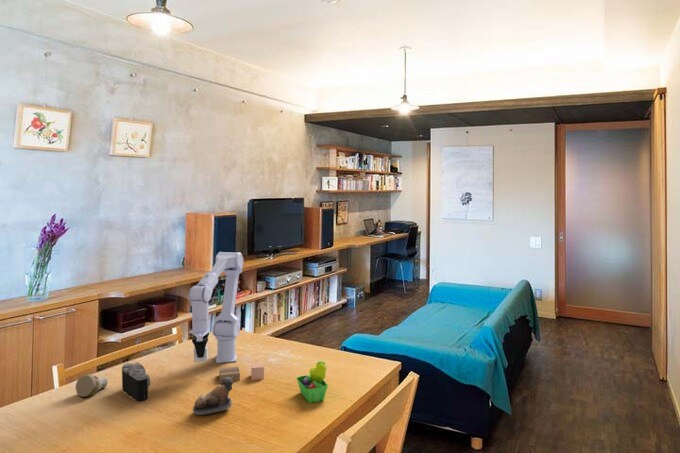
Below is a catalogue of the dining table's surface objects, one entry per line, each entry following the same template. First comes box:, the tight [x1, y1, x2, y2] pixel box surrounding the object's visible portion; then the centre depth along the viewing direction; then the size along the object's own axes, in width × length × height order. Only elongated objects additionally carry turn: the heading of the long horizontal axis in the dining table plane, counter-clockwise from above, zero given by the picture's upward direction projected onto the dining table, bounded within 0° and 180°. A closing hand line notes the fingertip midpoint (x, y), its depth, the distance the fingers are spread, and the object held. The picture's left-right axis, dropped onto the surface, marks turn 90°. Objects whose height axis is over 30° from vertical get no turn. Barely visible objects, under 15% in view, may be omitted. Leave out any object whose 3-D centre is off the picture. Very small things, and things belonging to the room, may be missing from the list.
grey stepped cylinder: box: [75, 373, 108, 398], centre depth 149 cm, size 8×10×10 cm
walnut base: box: [218, 365, 241, 383], centre depth 162 cm, size 7×7×3 cm
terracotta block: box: [250, 362, 265, 381], centre depth 163 cm, size 4×4×4 cm
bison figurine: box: [192, 377, 234, 416], centre depth 136 cm, size 12×7×10 cm, turn 114°
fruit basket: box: [296, 360, 329, 404], centre depth 147 cm, size 11×9×11 cm
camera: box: [121, 362, 151, 403], centre depth 149 cm, size 15×7×10 cm, turn 47°
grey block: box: [193, 344, 209, 363], centre depth 162 cm, size 4×4×4 cm
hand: (201, 355), depth 162 cm, fingers closed on grey block, 4 cm apart
